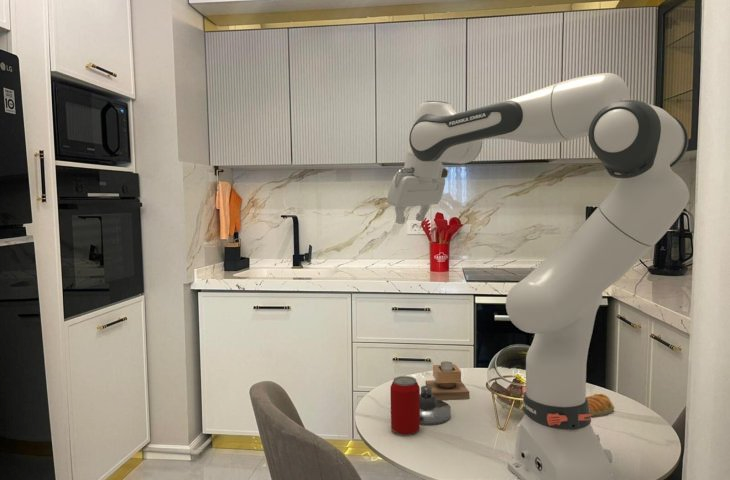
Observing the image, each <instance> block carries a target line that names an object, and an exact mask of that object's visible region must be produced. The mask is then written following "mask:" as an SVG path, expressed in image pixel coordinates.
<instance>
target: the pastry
mask: <svg viewBox="0 0 730 480" xmlns="http://www.w3.org/2000/svg"><path fill="white" fill-rule="evenodd" d="M586 399H587V401H588V406H589V408H590V414H591V415H592V416H590V417H602V416H605V415H608V414H611V413H612V412H613V411H615V405H614V404H613V402H612V400H611V398H610V397H609V396H607V395H606V394H603V393H600V394H599V393H594V394H593V395H591V396H590V395H589V396H586Z"/></svg>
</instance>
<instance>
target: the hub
mask: <svg viewBox="0 0 730 480" xmlns="http://www.w3.org/2000/svg"><path fill="white" fill-rule="evenodd" d="M451 407H452V406H450V404H448V402H445V400H437V399H435V396H434V395H432V394H431V387H430V386H426V385H422V386H420V426H438V425H442V424H445V423H447V422H448V421H450V420H451V418H452V417H451V415H452V414H451V413H452V410H451Z"/></svg>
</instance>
